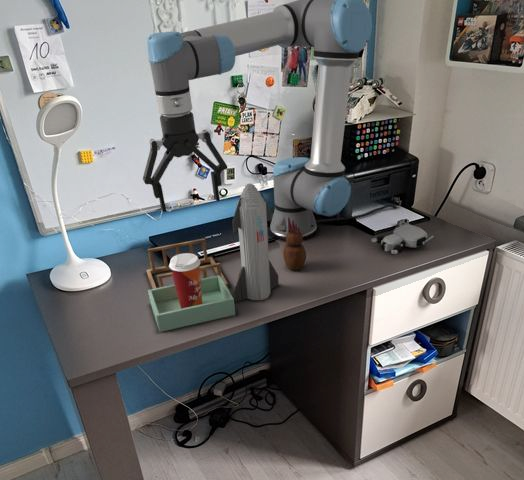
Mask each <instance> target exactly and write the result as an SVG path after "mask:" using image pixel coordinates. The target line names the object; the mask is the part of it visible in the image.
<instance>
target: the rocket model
mask: <svg viewBox="0 0 524 480" xmlns="http://www.w3.org/2000/svg"><path fill="white" fill-rule="evenodd" d="M237 200H238V201H237V203H236V208H235V212H234V214H233V218H232V220H231V222H232V233H233V234H234V233H236V232H238V240H239V241H238V242H239V251H240V261H241V262H240V263H241V267H240V271H239V273H238V277H237V281H236V285H235V286H234V290H233V295H234V296H233V298H234V303H237V302H240V301H243V300H246V299H249V300H251V301H263V300H267V299H268V298H269V296H270V295H271V290H272V289H274V288H276V287H278V286H279V274H278V272H277V270H276V269H275V267H274V266H273V264H272V262H271V260H270V254H269V236H268V222H271V221H272V208H271V207H270V205H269V203H268V201H267V199H266V198H265V196H264V194H263V192H262V191H259V189H258V188H257V187H256V185H254V184H253V183H247V184H246V185H244V188H243V189H242V191H241V194H240V197H239V198H238V199H237Z"/></svg>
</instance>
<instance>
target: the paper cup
mask: <svg viewBox="0 0 524 480" xmlns="http://www.w3.org/2000/svg"><path fill="white" fill-rule="evenodd" d="M200 265H201V264H200V260H199V257H198V255H196V254H195V253H194V254H191V253H190V252H185V253H180V254H178V255H177V254H175V255H174V256H172V257H171V258H170V261H169V263H168V266H169V267H170V269H171V270H170V271H171V272H172V274H173V276H172V279H173V283H175V287H176V291H177V295H178V299H179V303H180V307H181V309H183V308H187V307H192V306H196V305H201V304H202V292H201V279H202V278H201V270H200V267H201V266H200Z"/></svg>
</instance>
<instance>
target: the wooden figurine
mask: <svg viewBox="0 0 524 480" xmlns="http://www.w3.org/2000/svg"><path fill="white" fill-rule="evenodd" d="M303 241H304V239H303V237H302V233H301V232H300V230H299V228H297V225H295V226H294V220H292V226H291V222H290V219H289V217H288V233H287V234H286V240H285V242H286V243H285V245H284V247H283V251H282V256H283V261H284V263H285V266H286V268H287V269H288V270H290V271H301V269H303V268H304V266H305V263H306V262H307V251H306V248H305V247H304V245H303V244H302V243H303Z"/></svg>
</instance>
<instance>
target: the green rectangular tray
mask: <svg viewBox="0 0 524 480" xmlns="http://www.w3.org/2000/svg"><path fill="white" fill-rule="evenodd" d="M200 279H201V292H202V304H201V305H196V306H192V307H187V308H183V309H181V307H180V303H179V299H178V295H177V291H176V287H175V284H171V285H165V286H164V287H160V286H159V287H156V288H155V289H152V288H151V289H148V290H147V293H148V298H149V302H150V307H151V310H152V313H153V315H154V316H153V317H154V319H155V323H156V326H157V329H158V331H159V333H163V332H167V331H171V330H175V329H181V328H183V327H188V326H192V325H197V324H201V323H206V322H210V321H215V320H219V319H223V318H228V317H232V316H236V307H235V297H234V296H233V295H232V293H231V291H230V290H229V287H228V288H227V287H226V285H225V283H224V281H223V280H222V278H221V276H220V275H217V274H216V275H213V276H209V277H208V276H207V278H200Z"/></svg>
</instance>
